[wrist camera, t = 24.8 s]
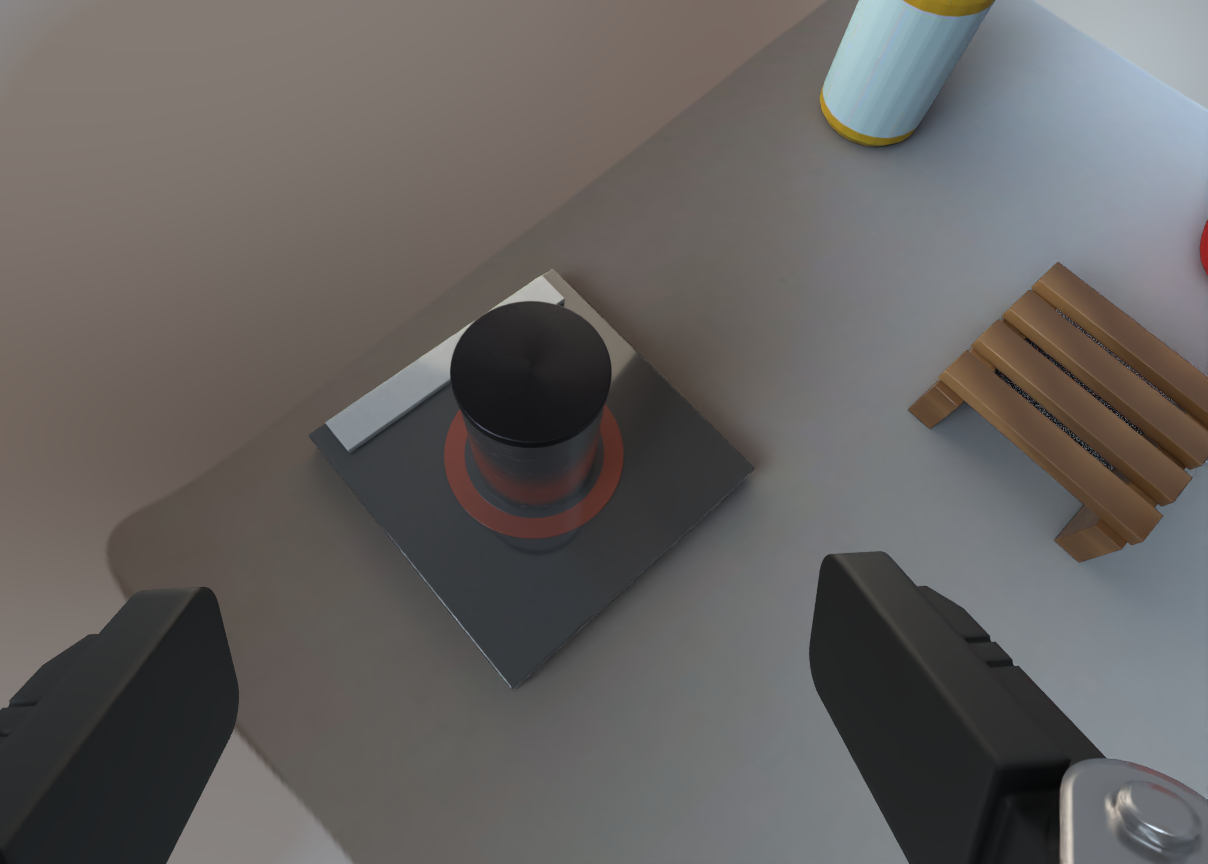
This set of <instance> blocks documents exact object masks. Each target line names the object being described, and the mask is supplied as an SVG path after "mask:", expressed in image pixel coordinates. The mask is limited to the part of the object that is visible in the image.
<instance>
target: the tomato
mask: <svg viewBox="0 0 1208 864" xmlns="http://www.w3.org/2000/svg"><path fill="white" fill-rule="evenodd" d="M1200 255H1201V261H1202V264H1203V266H1204V269H1205V271H1206V273H1207V275H1208V221H1207V222H1206V225H1205V228H1204V230H1203V233H1202V237H1201V243H1200Z"/></svg>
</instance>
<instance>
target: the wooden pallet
mask: <svg viewBox="0 0 1208 864" xmlns="http://www.w3.org/2000/svg"><path fill="white" fill-rule="evenodd" d="M1031 288H1032V290H1031V291H1030V290H1028V291H1027V292H1026V293H1025V294H1024V295H1023V296H1022V297H1021V298H1019V299H1018V300H1017V301H1016V302H1015V303H1014V304H1013V305H1012V306H1011V307H1010V308H1009V309H1008V310H1007V311H1006V312H1005V313H1004V314H1003V315H1002V317H1003V318H1002V319H1001V320H997V321H996V322H995V323H994V324H993V325H992V326H991V327H989V328H988V329H987V330H986V331H985V332H984V333H983V334H982V335H981V336H980V337H979V338H978V339H977V340H976V341H975V342H974V343H973V344H972V345H971V347H972V348H971V349H970V350H969V351H968V350H966V351H965V352H964V353H963V354H962V355H961V356H960V357H958V358H957V359H956V360H955V361H954V362H953V363H952V364H951V365H950V366H949V367H948V368H947V369H946V370H945V371H944V372H943V373H942V374H941V375H940V376H939V377H938V378H939V380H938V381H937V382H936V383H935V384H934V385H933V386H932V387H931V388H930V389H929V390H928V391H927V392H926V393H925V394H924V395H923V396H922V397H920V398H919V399H918V400H917V401H916V402H915V403H914V404H913V405H912V406H911V407H910V408H909V411H910V412H911V413H912V414H914V415H915V416H916V417H917V418H918V419H919V420H920V421H921V422H922V423H924V424H925V425H926V426H927V427H928V428H929V429H931V428H932V427H934V426H935V425H936V424H937V423H939V422H940V421H941V420H943V419H944V418H945V417H946V416H948V415H949V414H950V413H951V412H953V411H954V410H955V409H957V408H958V407H959V406H960V405H961V404H962V403H963V402H964V401H965V402H966V403H968V404H969V405H970V406H971V407H972V408H973V409H974V410H976V411H977V412H978V413H979V414H980V415H981V416H983V417H984V418H985V419H986V420H987V421H988V422H989V423H991V424H992V425H993V426H994V427H995V428H996V429H998V430H999V431H1000V432H1001V433H1002V434H1003V435H1004V436H1006V437H1007V438H1008V439H1009V440H1010V441H1011V442H1013V443H1014V444H1015V445H1016V446H1017V447H1018V448H1019V449H1021V450H1022V451H1023V452H1024V453H1025V454H1026V455H1027V456H1029V457H1030V458H1031V459H1032V460H1033V461H1034V462H1036V463H1037V464H1038V465H1039V466H1040V467H1041V468H1042V469H1044V470H1045V471H1046V472H1047V473H1048V474H1049V475H1051V476H1052V477H1053V478H1054V479H1055V480H1056V481H1057V482H1059V483H1060V484H1061V485H1062V486H1063V487H1064V488H1066V489H1067V490H1068V491H1069V492H1070V493H1071V494H1072V495H1074V496H1075V497H1076V498H1077V499H1078V500H1079V501H1080V502H1082V503H1083V504H1084V505H1083V507H1082V508H1081V509H1080V510H1079V511H1078V513H1077V514H1076V515H1075V516H1074V517H1073V519H1072V520H1071V521H1070V522H1069V523H1068V525H1067V526H1066V527H1065V528H1064V529H1063V531H1062V532H1061V533H1060V534H1059V535H1058V537H1057V538H1056V539H1055V542H1056V543H1058V544H1059V545H1060V546H1061V547H1062V548H1063V549H1064V550H1065V551H1067V552H1068V553H1069V554H1070V555H1071V556H1072V557H1073V558H1074V559H1076V560H1077V561H1078V562H1083V561H1086V560H1089V559H1092V558H1095V557H1099V556H1102V555H1105V554H1108V553H1111V552H1115V551H1118V550H1121V549H1122V548H1123V547H1124V546H1125V545H1126V543H1127V542H1128V543H1129V544H1130V545H1134V544H1137V543H1140V542H1143V541H1144V540H1145V539H1146V537H1147V536H1148V535H1149V534H1150V532H1151V531H1152V530H1153V528H1154V527H1155V526H1156V524H1157V523H1158V522H1159V521H1160V519H1161V518H1162V517H1163V515H1162V514H1161V513H1160V512H1159V511H1157V510H1156V509H1155V508H1154V507H1155V506H1156V505H1157V504H1159V505H1160V506H1164V505H1167V504H1170V503H1173V502H1174V501H1175V500H1176V498H1177V497H1178V496H1179V495H1180V493H1181V492H1182V491H1183V489H1184V488H1185V487H1186V485H1187V484H1188V483H1189V482H1190V480H1191V479H1192V477H1191V476H1190V475H1189V474H1188V473H1186V472H1185V471H1184V469H1185V468H1186V467H1187V468H1188V469H1189V470H1191V469H1193V468H1196V467H1198V466H1201V465H1203V463H1204V462H1205V461H1206V460H1207V458H1208V377H1207V376H1205V375H1204V374H1203V373H1201V372H1200V371H1199V370H1197V369H1196V368H1195V367H1194V366H1192V365H1191V364H1190V363H1188V362H1187V361H1186V360H1185V359H1183V358H1182V357H1181V356H1179V355H1178V354H1177V353H1175V352H1174V351H1173V350H1172V349H1170V348H1169V347H1168V346H1166V345H1165V344H1164V343H1163V342H1161V341H1160V340H1159V339H1157V338H1156V337H1155V336H1154V335H1152V334H1151V333H1150V332H1148V331H1147V330H1146V329H1144V328H1143V327H1142V326H1141V325H1139V324H1138V323H1137V322H1135V321H1134V320H1133V319H1132V318H1130V317H1129V316H1128V315H1126V314H1125V313H1124V312H1122V311H1121V310H1120V309H1119V308H1117V307H1116V306H1115V305H1113V304H1112V303H1111V302H1110V301H1108V300H1107V299H1106V298H1104V297H1103V296H1102V295H1101V294H1099V293H1098V292H1097V291H1095V290H1094V289H1093V288H1091V287H1090V286H1089V285H1088V284H1086V283H1085V282H1084V281H1082V280H1081V279H1080V278H1079V277H1077V276H1076V275H1075V274H1073V273H1072V272H1071V271H1069V270H1068V269H1067V268H1066V267H1064V266H1063V265H1062V264H1060V263H1059V262H1057V263H1056V264H1055V265H1054V266H1053V267H1052V268H1051V269H1049V270H1048V271H1047V272H1046V273H1045V274H1044V275H1043V276H1042V277H1041V278H1040V279H1039V280H1038V281H1037V282H1036V283H1035V284H1034V285H1033V286H1032V287H1031ZM1056 309H1058V310H1059V311H1061V312H1062V313H1063V314H1064V315H1066V316H1067V317H1068V318H1069V319H1071V320H1072V321H1073V322H1075V323H1076V324H1077V325H1078V326H1080V327H1081V328H1082V329H1083V330H1085V331H1086V332H1087V333H1088V334H1090V335H1091V336H1092V337H1093V338H1095V339H1096V340H1097V341H1098V342H1100V343H1101V344H1102V345H1103V346H1105V347H1106V348H1107V349H1109V350H1110V351H1111V352H1112V353H1114V354H1115V355H1116V356H1117V357H1119V358H1120V359H1121V360H1122V361H1124V362H1125V363H1126V364H1127V365H1129V366H1130V367H1131V368H1132V369H1134V370H1135V371H1136V372H1137V373H1139V374H1140V375H1141V376H1143V377H1144V378H1145V379H1146V380H1148V381H1149V382H1150V383H1151V384H1153V385H1154V386H1155V387H1156V388H1158V389H1159V390H1160V391H1161V392H1163V393H1164V394H1165V395H1166V396H1168V397H1169V398H1170V399H1171V400H1173V401H1174V402H1175V403H1174V404H1172V403H1171V402H1170V401H1169V400H1167V399H1166V398H1165V397H1164V396H1162V395H1161V394H1160V393H1158V392H1157V391H1156V390H1155V389H1153V388H1152V387H1151V386H1150V385H1148V384H1147V383H1146V382H1145V381H1143V380H1142V379H1141V378H1140V377H1138V376H1137V375H1136V374H1135V373H1133V372H1132V371H1131V370H1130V369H1128V368H1127V367H1126V366H1125V365H1123V364H1122V363H1121V362H1120V361H1118V360H1117V359H1116V358H1114V357H1113V356H1112V355H1111V354H1109V353H1108V352H1107V351H1106V350H1104V349H1103V348H1102V347H1101V346H1099V345H1098V344H1097V343H1096V342H1094V341H1093V340H1092V339H1091V338H1089V337H1088V336H1087V335H1086V334H1084V333H1083V332H1082V331H1081V330H1079V329H1078V328H1077V327H1076V326H1074V325H1073V324H1072V323H1070V322H1069V321H1068V320H1067V319H1065V318H1064V317H1063V316H1062V315H1060V314H1059V313H1058V312H1057V311H1055V310H1056ZM1027 338H1029V339H1030V340H1031V341H1032V342H1033V343H1035V344H1036V345H1037V346H1038V347H1040V348H1041V349H1042V350H1043V351H1044V352H1046V353H1047V354H1048V355H1049V356H1051V357H1052V358H1053V359H1054V360H1056V361H1057V362H1058V363H1059V364H1060V365H1062V366H1063V367H1064V368H1065V369H1067V370H1068V371H1069V372H1070V373H1071V374H1073V375H1074V376H1075V377H1076V378H1078V379H1079V380H1080V381H1081V382H1082V383H1084V384H1085V385H1086V386H1087V387H1089V388H1090V389H1091V390H1092V391H1093V392H1095V393H1096V394H1097V395H1098V396H1100V397H1101V398H1102V399H1103V400H1104V401H1106V402H1107V403H1108V404H1109V405H1111V406H1112V407H1113V408H1114V409H1116V410H1117V411H1118V412H1119V413H1120V414H1122V415H1123V416H1124V417H1125V418H1127V419H1128V420H1129V421H1130V422H1131V423H1133V424H1134V425H1135V426H1136V427H1138V428H1139V429H1140V430H1141V431H1142V432H1144V434H1143V435H1142V436H1141V435H1140V434H1139V433H1138V432H1136V431H1135V430H1134V429H1133V428H1131V427H1130V426H1129V425H1128V424H1127V423H1125V422H1124V421H1123V420H1122V419H1120V418H1119V417H1118V416H1117V415H1116V414H1114V413H1113V412H1112V411H1111V410H1109V409H1108V408H1107V407H1106V406H1105V405H1103V404H1102V403H1101V402H1100V401H1098V400H1097V399H1096V398H1095V397H1094V396H1092V395H1091V394H1090V393H1089V392H1087V391H1086V390H1085V389H1084V388H1083V387H1081V386H1080V385H1079V384H1078V383H1076V382H1075V381H1074V380H1073V379H1072V378H1070V377H1069V376H1068V375H1067V374H1065V373H1064V372H1063V371H1062V370H1061V369H1059V368H1058V367H1057V366H1056V365H1054V364H1053V363H1052V362H1051V361H1050V360H1048V359H1047V358H1046V357H1045V356H1043V355H1042V354H1041V353H1040V352H1039V351H1037V350H1036V349H1035V348H1034V347H1032V346H1031V345H1030V344H1029V343H1028V342H1026V341H1025V340H1026V339H1027ZM996 369H998V370H999V371H1000V372H1002V373H1003V374H1004V375H1005V376H1006V377H1008V378H1009V379H1010V380H1011V381H1012V382H1014V383H1015V384H1016V385H1017V386H1018V387H1019V388H1021V389H1022V390H1023V391H1024V392H1025V393H1027V394H1028V395H1029V396H1030V397H1031V398H1033V399H1034V400H1035V401H1036V402H1037V403H1038V404H1040V405H1041V406H1042V407H1043V408H1044V409H1046V410H1047V411H1048V412H1049V413H1050V414H1052V415H1053V416H1054V417H1055V418H1056V419H1057V420H1059V421H1060V422H1061V423H1062V424H1063V425H1065V426H1066V427H1067V428H1068V429H1069V430H1071V431H1072V432H1073V433H1074V434H1075V435H1077V436H1078V437H1079V438H1080V439H1081V440H1082V441H1084V442H1085V443H1086V444H1087V445H1088V446H1090V447H1091V448H1092V449H1093V450H1094V451H1096V452H1097V453H1098V454H1099V455H1100V456H1101V457H1103V458H1104V459H1105V460H1106V461H1107V462H1109V463H1110V464H1111V465H1112V466H1113V467H1115V468H1114V469H1113V471H1112V472H1111V471H1110V470H1109V469H1108V468H1106V467H1105V466H1104V465H1103V464H1102V463H1101V462H1099V461H1098V460H1097V459H1096V458H1095V457H1093V456H1092V455H1091V454H1090V453H1089V452H1087V451H1086V450H1085V449H1084V448H1083V447H1082V446H1080V445H1079V444H1078V443H1077V442H1076V441H1074V440H1073V439H1072V438H1071V437H1070V436H1069V435H1067V434H1066V433H1065V432H1064V431H1063V430H1061V429H1060V428H1059V427H1058V426H1057V425H1056V424H1054V423H1053V422H1052V421H1051V420H1050V419H1048V418H1047V417H1046V416H1045V415H1044V414H1042V413H1041V412H1040V411H1039V410H1038V409H1037V408H1035V407H1034V406H1033V405H1032V404H1031V403H1029V402H1028V401H1027V400H1026V399H1025V398H1024V397H1022V396H1021V395H1020V394H1019V393H1018V392H1016V391H1015V390H1014V389H1013V388H1012V387H1011V386H1009V385H1008V384H1007V383H1006V382H1005V381H1003V380H1002V379H1001V378H1000V377H999V376H997V375H996V374H995V373H994V371H995V370H996Z"/></svg>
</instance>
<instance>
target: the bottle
mask: <svg viewBox="0 0 1208 864" xmlns="http://www.w3.org/2000/svg"><path fill="white" fill-rule="evenodd" d="M994 1H995V0H859V2H858V4H857V6H856V9H855V11H854V14H853V16H852V18H851V21H850V23H849V25H848V28H847V30H846V32H845V35H844V37H843V39H842V42H841V44H840V46H839V49H838V51H837V53H836V56H835V58H834V61H833V63H832V65H831V68H830V70H829V72H828V75H827V77H826V79H825V82H824V85H823V87H822V90H821V94H820V103H821V109H822V111H823V113H824V115H825V117H826V119H827V121H828V122H829V124H830V126H831V127H832V128H833V129H834V130H835V131H836V132H837V133H838V134H839V135H841V136H842V137H844V138H846V139H848V140H850V141H851V142H854V143H858V144H861V145H864V146H876V147H880V146H885V145H889V144H894V143H898V142H900V141H902V140H904V139H906V138H908V137H909V136H910V135H912V133H913V132H914V131H915V129H916V128H917V126H918V125H919V123H920V122H921V121H922V119H923V117H924V116H925V114H926V112H927V111H928V109H929V108H930V106H931V104H932V103H933V101H934V99H935V98H936V96H937V94H938V93H939V91H940V90H941V88H942V86H943V85H944V83H945V81H946V80H947V78H948V76H949V75H950V73H951V72H952V70H953V68H954V67H955V65H956V63H957V62H958V60H959V59H960V57H961V55H962V54H963V52H964V50H965V49H966V47H967V45H968V44H969V42H970V41H971V39H972V37H973V36H974V34H975V32H976V31H977V29H978V27H979V26H980V24H981V23H982V21H983V19H984V18H985V16H986V14H987V13H988V11H989V9H990V8H991V6H992V5H993V3H994Z"/></svg>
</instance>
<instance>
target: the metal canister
mask: <svg viewBox="0 0 1208 864" xmlns="http://www.w3.org/2000/svg"><path fill="white" fill-rule="evenodd" d="M611 378H612V366H611V360H610V356H609V352H608V349H607V347H606V345H605V343H604V341H603V339H602V338H601V336H600V335H599V333H598V332H597V331H596V329H595V328H594V327H593V326H592V325H591V324H590V323H589V322H588V321H587V320H585V319H584V318H583V317H581V316H580V315H578V314H577V313H575V312H573V311H571V310H570V309H568V308H565V307H562V306H560V305H557V304H553V303H549V302H542V301H520V302H514V303H509V304H506V305H502V306H499V307H497V308H495V309H492V310H490V311H488V312H487V313H485V314H483V315H482V316H480V317H479V318H478V319H477V320H475V321H474V322H473V323H472V324H471V325H470V326H469V327H468V328H467V329H466V330H465V332H464V333H463V334H462V336H461V337H460V339H459V341H458V343H457V344H456V347H455V349H454V352H453V355H452V359H451V365H450V381H451V386H452V390H453V394H454V397H455V400H456V402H457V405H458V407H459V408H460V410H461V413H462V417H463V420H464V424H465V428H466V431H467V435H468V439H469V442H470V446H471V450H472V453H473V457H474V460H475V464H476V468H477V471H478V474H479V476H480V478H481V480H482V482H483V484H484V485H485V487H486V488H487V489H488V490H489V491H490V492H491V493H492V494H493V495H494V496H495V497H496V498H498V499H499V500H500V501H502V502H504V503H506V504H508V505H510V506H512V507H515V508H519V509H524V510H546V509H550V508H554V507H557V506H559V505H562V504H563V503H565V502H567V501H569V500H570V499H572V498H573V497H574V496H576V495H577V494H578V493H579V492H580V491H581V490H582V488H583V487H584V486H585V485H586V483H587V481H588V480H589V478H590V475H591V473H592V470H593V467H594V462H595V456H596V451H597V445H598V439H599V433H600V428H601V422H602V416H603V411H604V405H605V403H606V400H607V398H608V394H609V391H610V385H611Z"/></svg>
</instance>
